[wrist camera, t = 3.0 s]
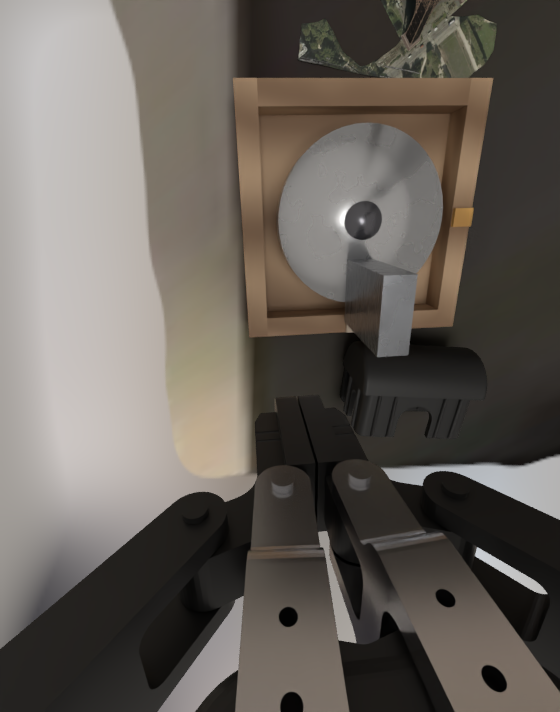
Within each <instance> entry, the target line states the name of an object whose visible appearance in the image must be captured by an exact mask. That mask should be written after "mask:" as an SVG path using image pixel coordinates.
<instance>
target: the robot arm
mask: <svg viewBox="0 0 560 712" xmlns="http://www.w3.org/2000/svg"><path fill="white" fill-rule="evenodd" d="M255 436H256V455H257V480H256V482H255V484H254V486H253V487H252V488H251V489H250V490H249V491H248V492H247V493H245V494H244V495H242V496H240V497H238V498H235V499H233V500H230V501H227V502H224V501H223V499H222V498H221V497H219V496H218V495H216V494H213V493H209V492H197V493H192V494H189V495H186V496H184V497H182V498H180V499H179V500H177V501H176V502H174V503H173V504H172V505H171V506H170V507H169V508H167V509H166V510H165V511H164V512H163V513H161V514H160V515H159V516H158V517H157V518H156V519H154V520H153V521H152V522H151V523H150V524H148V525H147V526H146V527H145V528H144V529H143V530H141V531H140V532H139V533H138V534H136V535H135V536H134V537H133V538H132V539H130V540H129V541H128V542H127V543H126V544H125V545H123V546H122V547H121V548H120V549H119V550H118V551H116V552H115V553H114V554H113V555H112V556H110V557H109V558H108V559H107V560H106V561H104V562H103V563H102V564H101V565H100V566H98V568H96V569H95V570H94V571H93V572H91V573H90V574H89V575H88V576H87V577H86V578H84V579H83V580H82V581H81V582H79V583H78V584H77V585H76V586H75V587H74V588H72V589H71V590H70V591H69V592H68V593H66V594H65V595H64V596H63V597H62V598H60V599H59V600H58V601H57V602H56V603H55V604H53V605H52V606H51V607H50V608H49V609H48V610H46V611H45V612H44V613H43V614H41V615H40V616H39V617H38V618H37V619H36V620H34V621H33V622H32V623H31V624H30V625H28V626H27V627H26V628H25V629H24V630H23V631H21V632H20V633H19V634H18V635H17V636H16V637H14V638H13V639H12V640H11V641H9V642H8V643H7V644H6V645H5V646H4V647H2V648H1V649H0V712H157V711H158V710H159V709H160V707H161V706H162V705H163V703H164V702H165V700H166V699H167V698H168V696H169V695H170V694H171V692H172V691H173V689H174V688H175V687H176V685H177V684H178V682H179V681H180V680H181V678H182V677H183V676H184V674H185V673H186V672H187V670H188V669H189V667H190V666H191V665H192V663H193V662H194V661H195V659H196V658H197V656H198V655H199V654H200V652H201V651H202V650H203V648H204V647H205V645H206V644H207V643H208V641H209V640H210V639H211V637H212V636H213V634H214V633H215V632H216V630H217V629H218V628H219V626H220V625H221V623H222V622H223V621H224V619H225V618H226V617H227V615H228V614H229V612H230V611H231V609H232V607H233V605H234V603H235V600H236V599H238V598H240V597H242V596H244V601H243V615H242V629H241V642H240V655H239V668H238V670H237V671H236V672H235V673H233V674H232V675H230V676H229V677H227V678H226V679H225V680H224V681H223V682H222V683H220V684H219V685H218V686H217V687H216V688H215V689H214V690H213V691H212V692H211V693H210V694H209V695H208V696H207V697H206V699H205V700H204V701H203V702H202V704H201V705H200V706H199V708H198V709H197V710H196V712H560V520H558V519H556V518H554V517H552V516H549V515H548V514H545V513H543V512H541V511H539V510H537V509H534V508H533V507H530V506H528V505H526V504H524V503H522V502H520V501H517V500H515V499H513V498H511V497H509V496H507V495H504V494H502V493H500V492H498V491H496V490H494V489H491V488H489V487H487V486H485V485H483V484H481V483H479V482H476V481H474V480H472V479H470V478H468V477H466V476H463V475H460V474H457V473H454V472H446V471H439V472H434V473H431V474H429V475H428V476H426V478H425V479H424V482H423V486H419V485H412V484H406V483H400V482H396V481H392V480H390V479H389V478H388V476H387V475H386V474H385V472H384V471H383V470H382V469H381V468H380V467H379V466H377V465H376V464H374V463H372V462H369V461H368V459H367V457H366V455H365V453H364V451H363V449H362V447H361V445H360V443H359V441H358V439H357V437H356V435H354V431H353V430H352V428H351V427H350V424H349V422H348V420H347V418H346V416H345V415H344V414H343V413H341V412H340V411H339V410H337V409H336V408H326V409H325V408H324V406H323V404H322V401H321V399H320V396H319V395H307V396H297V398H296V396H294V397H279V398H275V412H272V413H261V414H260V415H259V417H258V418H257V420H256V421H255ZM319 531H327V532H328V536H329V540H330V545H329V556H330V560H331V563H332V566H333V569H334V572H335V575H336V578H337V581H338V584H339V587H340V590H341V593H342V596H343V599H344V602H345V605H346V608H347V611H348V614H349V617H350V620H351V623H352V626H353V629H354V633H355V637H356V643H351V642H344V641H339V640H338V635H337V629H336V622H335V616H334V610H333V603H332V597H331V590H330V584H329V577H328V571H327V564H326V558H325V553H324V549H323V548H320V543H319V537H318V532H319ZM477 547H479V548H480V549H482V550H484V551H485V552H487V553H489V554H491V555H492V556H494V557H496V558H497V559H499V560H501V561H503V562H504V563H506V564H508V565H510V566H511V567H513V568H515V569H516V570H518V571H520V572H521V573H523V574H525V575H527V576H528V577H530V578H532V579H534V580H535V581H537V582H538V583H539V584H540V585H541V586H542V587H543V588H544V589H545V590H546V592H547V593H548V594H539V593H536V592H534V591H532V590H530V589H528V588H527V587H525V586H523V585H522V584H520V583H518V582H517V581H515V580H514V579H512V578H510V577H509V576H507V575H505V574H504V573H502V572H500V571H498V570H497V569H495V568H494V567H492V566H490V565H489V564H487V563H485V562H483V561H482V560H480V559H479V558H477V557H475V553H476V548H477Z"/></svg>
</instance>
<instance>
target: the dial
mask: <svg viewBox="0 0 560 712" xmlns="http://www.w3.org/2000/svg"><path fill="white" fill-rule="evenodd" d="M442 213H443V195H442V189H441V183H440V180H439V176H438V173H437V171H436V168H435V166H434V164H433V162H432V160H431V159H430V157H429V156H428V154H427V152H426V151H425V150H424V149H423V148H422V147H421V145H420V144H419V143H418V142H417V141H415V140H414V139H413V138H412V137H411V136H409V135H408V134H406V133H404V132H403V131H401V130H399V129H396V128H394V127H391V126H388V125H384V124H380V123H356V124H352V125H348V126H344V127H341V128H339V129H336V130H334V131H332V132H330V133H329V134H327V135H325V136H323V137H322V138H320V139H319V140H318V141H317V142H315V143H314V144H313V145H312V146H311V147H310V148H309V149H308V150H307V151H306V152H305V153H304V154H303V155H302V156H301V157H300V158H299V159H298V161H297V162H296V163H295V165H294V166H293V167H292V169H291V170H290V172H289V174H288V176H287V177H286V179H285V182H284V184H283V187H282V189H281V193H280V196H279V200H278V206H277V214H276V226H277V235H278V240H279V244H280V247H281V250H282V253H283V255H284V257H285V259H286V261H287V263H288V264H289V266H290V267H291V269H292V270H293V271H294V273H295V274H296V275H297V276H298V277H299V278H300V279H301V280H302V282H303V283H304V284H306V285H307V286H308V287H309V288H310V289H312V290H313V291H315V292H316V293H318V294H320V295H322V296H324V297H326V298H328V299H332V300H335V301H339V302H345V318H344V322H345V323H346V324H347V325H348V326H349V328H350V329H351V330H352V331H353V332H354V333H355V334H356V335H357V336H358V337H359V338H360V339H361V340H362V342H363V343H364V344H365V345H366V346H367V347H368V348H369V349H370V350H371V351H372V352H373V353H374V354H375V356H376V357H389V356H405V355H408V353H409V344H410V336H411V328H412V319H413V311H414V302H415V294H416V285H417V277H418V274H416V273H417V272H418V271H419V270H420V269H421V267H422V266H423V265H424V263H425V262H426V260H427V259H428V257H429V255H430V253H431V252H432V250H433V247H434V245H435V243H436V240H437V237H438V234H439V231H440V226H441V221H442Z"/></svg>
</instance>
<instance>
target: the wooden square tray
mask: <svg viewBox="0 0 560 712" xmlns="http://www.w3.org/2000/svg"><path fill="white" fill-rule="evenodd" d="M492 83H493V78H233V87H234V102H235V118H236V134H237V150H238V166H239V182H240V197H241V213H242V229H243V245H244V261H245V277H246V292H247V308H248V324H249V337H266V336H284V335H302V334H320V333H338V332H346V333H350V332H353V331H352V330H351V329H350V328H349V326H348V325H347V324H346V323H345V322H344V318H345V302H339V301H335V300H332V299H328V298H326V297H324V296H322V295H320V294H318V293H316V292H315V291H313V290H312V289H310V288H309V287H308V286H307V285H306V284H304V283H303V282H302V280H301V279H300V278H299V277H298V276H297V275H296V274H295V273H294V271H293V270H292V269H291V267H290V266H289V264H288V263H287V261H286V259H285V257H284V255H283V253H282V250H281V247H280V244H279V240H278V235H277V226H276V214H277V206H278V200H279V196H280V193H281V189H282V187H283V184H284V182H285V179H286V177H287V176H288V174H289V172H290V170H291V169H292V167H293V166H294V165H295V163H296V162H297V161H298V159H299V158H300V157H301V156H302V155H303V154H304V153H305V152H306V151H307V150H308V149H309V148H310V147H311V146H312V145H313V144H314V143H315V142H317V141H318V140H319V139H320V138H322V137H323V136H325V135H327V134H329V133H330V132H332V131H334V130H336V129H339V128H341V127H344V126H348V125H352V124H356V123H380V124H384V125H388V126H391V127H394V128H396V129H399V130H401V131H403V132H404V133H406V134H408V135H409V136H411V137H412V138H413V139H414V140H415V141H417V142H418V143H419V144H420V145H421V147H422V148H423V149H424V150H425V151H426V152H427V154H428V156H429V157H430V159H431V160H432V162H433V164H434V166H435V168H436V171H437V173H438V176H439V180H440V183H441V189H442V195H443V213H442V221H441V226H440V231H439V234H438V237H437V240H436V243H435V245H434V247H433V250H432V252H431V253H430V255H429V257H428V259H427V260H426V262H425V263H424V265H423V266H422V267H421V269H420V270H419V271H418V272H417V273H416V274H418V277H417V285H416V294H415V302H414V311H413V319H412V328H428V327H447V326H453V320H454V314H455V308H456V302H457V296H458V290H459V284H460V278H461V272H462V265H463V259H464V253H465V247H466V241H467V235H468V229H469V226H471V222H472V216H473V210H474V208H472V205H473V198H474V192H475V186H476V180H477V174H478V168H479V162H480V156H481V150H482V144H483V137H484V131H485V125H486V119H487V113H488V107H489V101H490V95H491V89H492Z"/></svg>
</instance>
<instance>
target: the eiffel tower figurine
mask: <svg viewBox="0 0 560 712" xmlns="http://www.w3.org/2000/svg"><path fill="white" fill-rule="evenodd" d="M466 1H467V0H381V2H382V4H383V6H384V8H385V10H386V12H387V14H388V16H389V18H390V20H391V22H392V24H393V26H394V28H395V30H396V32H397V34H398V36H399V38H400V40H401V41H400V42H399V43H398V44H397V46H395V47H394V48H393V49H391V50H390V51H389V52H387V53H386V54H385V55H383V56H382V57H381V58H379V59H377V60H375V61H374V62H372V63H370V64H369V65H365V66H362V67H361V66H359V65H358V64H357V63H356V62H355V61H353V60H352V59H351V58H350V57H349V56H347V55H346V54H345V53H344V52H343V51H342V49H341V47H340V45H339V43H338V41H337V38H336V36H335V34H334V32H333V31H332V29H331V27H330V26H329V24H328V22H327V21H326V19H323V20H321V21H319V22H314V23H306V24H302V27H301V37H300V47H299V56H298V60H299V61H304V62H309V63H315V64H320V65H324V66H328V67H332V68H336V69H341V70H345V71H349V72H354V73H358V74H363V75H369V76H374V77H380V78H469V77H470V76H471V75H472V74H473V73H474V72H475V71H476V70H478V69H479V68H480V67H482V66H483V65H484V64H485V63H486V61H487V60H488V58H489V57H490V55H491V53H492V52H493V50H494V43H495V35H496V32H497V27H496V23H493V22H490V21H487V20H486V19H484V18H483V17H481V16H480V15H478V14H477V15H472V16H464V17H454V16H451V15H452V14H453V13H454V12H455V11H456V10H457V9H458V8H460V7H461V6H462V5H463V4H464V3H465V2H466ZM449 16H451V17H449ZM448 17H449V18H448Z"/></svg>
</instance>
